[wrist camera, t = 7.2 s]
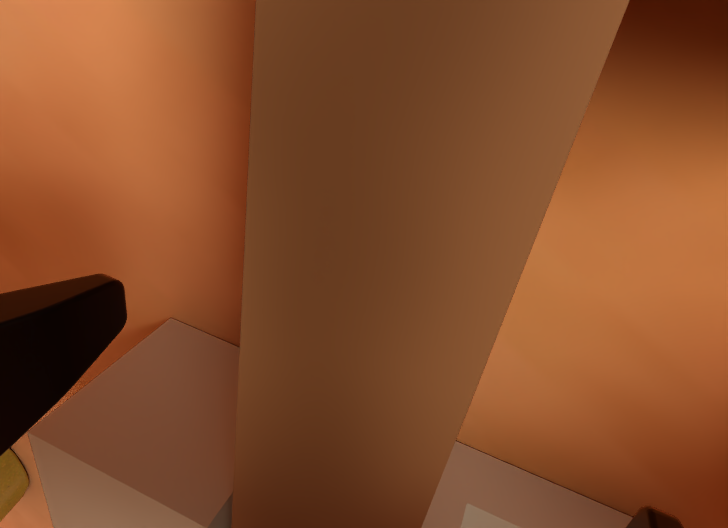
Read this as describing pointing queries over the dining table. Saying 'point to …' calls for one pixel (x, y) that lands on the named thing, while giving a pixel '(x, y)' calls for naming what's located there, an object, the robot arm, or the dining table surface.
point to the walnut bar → (390, 235)
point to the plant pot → (11, 482)
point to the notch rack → (230, 452)
